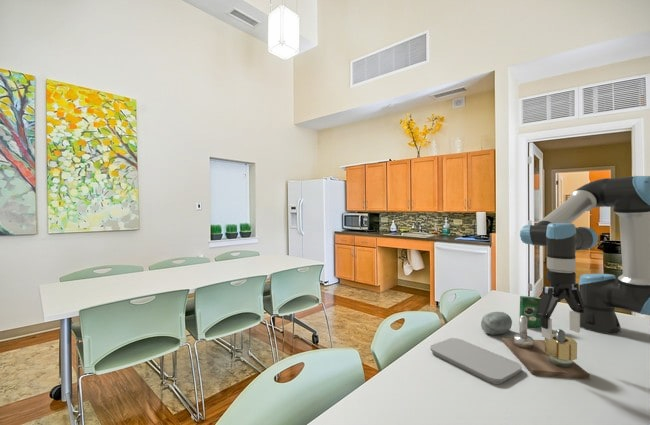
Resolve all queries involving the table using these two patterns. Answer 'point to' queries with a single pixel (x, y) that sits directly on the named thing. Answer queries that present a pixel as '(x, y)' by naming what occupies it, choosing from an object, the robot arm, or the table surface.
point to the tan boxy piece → (561, 348)
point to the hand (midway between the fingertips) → (561, 334)
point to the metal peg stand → (555, 361)
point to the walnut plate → (543, 361)
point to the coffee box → (530, 310)
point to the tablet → (476, 360)
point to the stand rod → (523, 335)
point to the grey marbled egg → (496, 323)
